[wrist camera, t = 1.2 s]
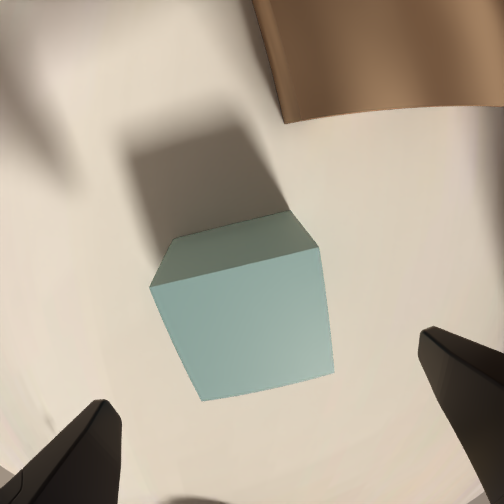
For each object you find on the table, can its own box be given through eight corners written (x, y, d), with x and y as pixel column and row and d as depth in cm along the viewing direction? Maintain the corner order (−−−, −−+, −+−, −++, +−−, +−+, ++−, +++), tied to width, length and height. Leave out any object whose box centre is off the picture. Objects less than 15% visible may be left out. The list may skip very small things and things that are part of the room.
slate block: (289, 209, 13) (319, 247, 9) (308, 310, 15) (334, 372, 10) (173, 238, 13) (149, 287, 9) (207, 333, 15) (201, 401, 10)
